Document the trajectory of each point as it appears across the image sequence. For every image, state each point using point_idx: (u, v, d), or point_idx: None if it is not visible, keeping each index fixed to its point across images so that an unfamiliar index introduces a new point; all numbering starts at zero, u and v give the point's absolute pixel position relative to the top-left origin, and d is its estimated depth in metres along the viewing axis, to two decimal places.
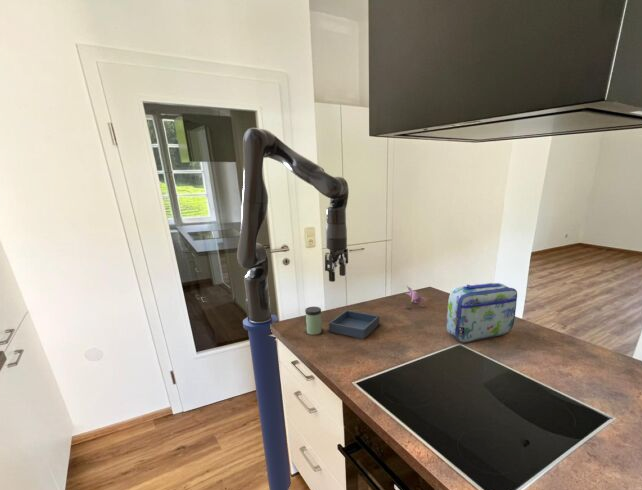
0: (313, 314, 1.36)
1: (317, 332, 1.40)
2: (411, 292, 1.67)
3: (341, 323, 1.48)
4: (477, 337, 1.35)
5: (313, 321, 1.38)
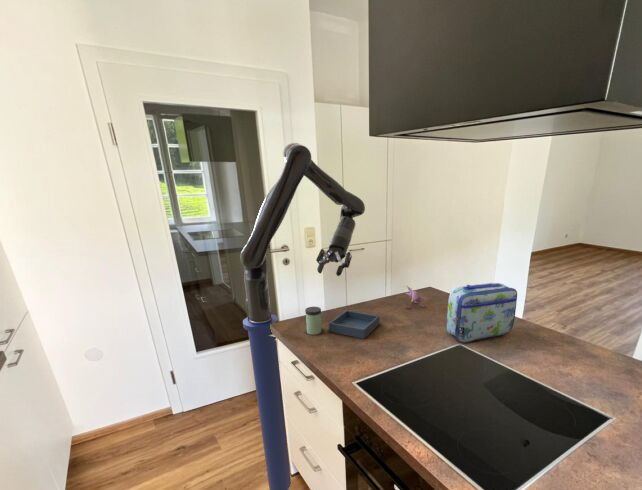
0: (313, 314, 1.36)
1: (317, 332, 1.40)
2: (411, 292, 1.67)
3: (341, 323, 1.48)
4: (477, 337, 1.35)
5: (313, 321, 1.38)
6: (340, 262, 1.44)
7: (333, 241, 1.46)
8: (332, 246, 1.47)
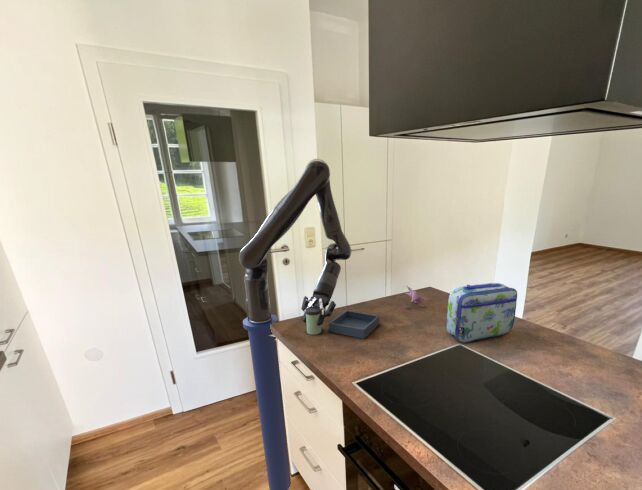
0: (313, 314, 1.36)
1: (317, 332, 1.40)
2: (411, 292, 1.67)
3: (341, 323, 1.48)
4: (477, 337, 1.35)
5: (313, 321, 1.38)
6: (322, 311, 1.39)
7: (317, 288, 1.41)
8: (316, 292, 1.42)
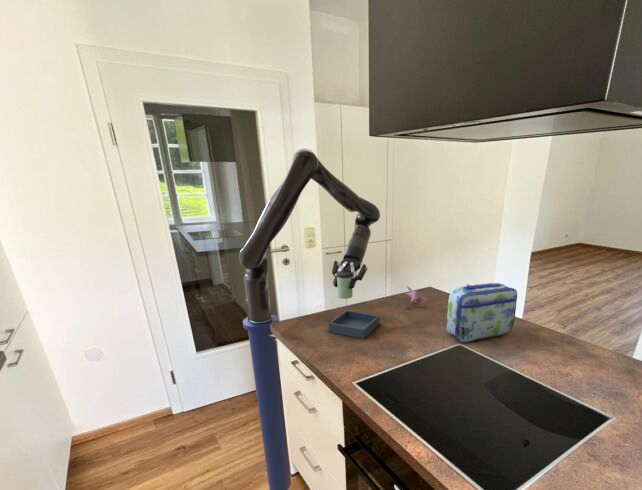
0: (345, 277, 1.34)
1: (348, 296, 1.37)
2: (411, 292, 1.67)
3: (341, 323, 1.48)
4: (477, 337, 1.35)
5: (345, 285, 1.35)
6: (353, 274, 1.36)
7: (348, 251, 1.38)
8: (347, 256, 1.39)
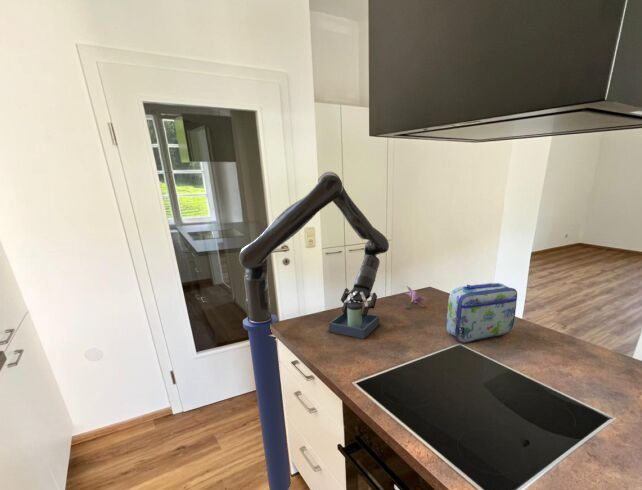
0: (355, 309, 1.40)
1: (358, 326, 1.43)
2: (411, 292, 1.67)
3: (341, 323, 1.48)
4: (477, 337, 1.35)
5: (355, 316, 1.41)
6: (366, 303, 1.42)
7: (358, 281, 1.44)
8: (357, 286, 1.45)
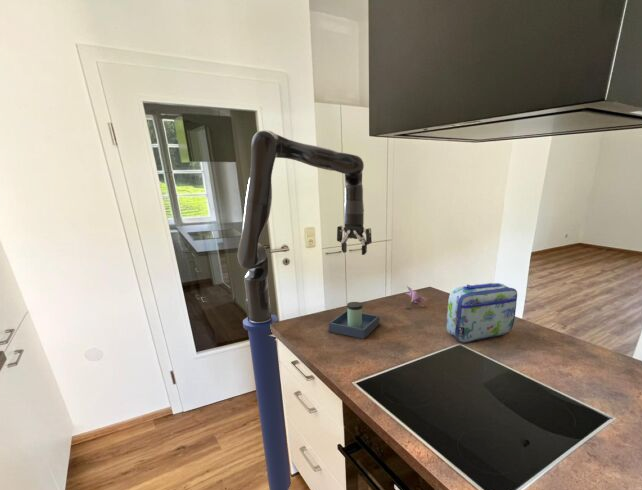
0: (355, 309, 1.40)
1: (358, 326, 1.43)
2: (411, 292, 1.67)
3: (341, 323, 1.48)
4: (477, 337, 1.35)
5: (355, 316, 1.41)
6: (362, 242, 1.41)
7: (347, 221, 1.37)
8: (348, 224, 1.39)
